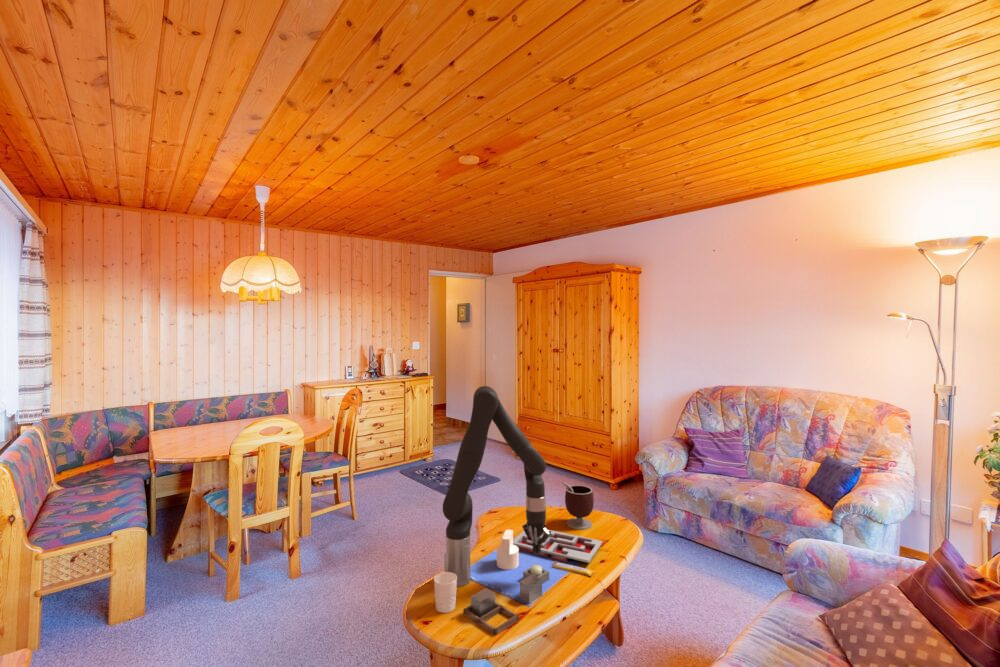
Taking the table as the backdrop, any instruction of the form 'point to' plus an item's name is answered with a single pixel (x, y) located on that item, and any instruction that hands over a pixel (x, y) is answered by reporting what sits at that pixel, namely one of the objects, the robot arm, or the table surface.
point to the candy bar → (573, 569)
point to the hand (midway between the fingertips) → (536, 553)
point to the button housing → (543, 576)
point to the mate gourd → (579, 505)
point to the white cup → (445, 591)
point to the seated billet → (482, 602)
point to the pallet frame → (483, 619)
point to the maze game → (562, 546)
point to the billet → (530, 588)
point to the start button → (536, 570)
